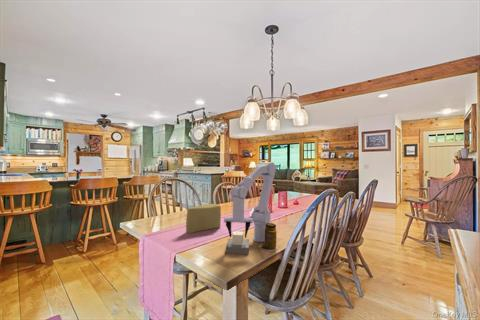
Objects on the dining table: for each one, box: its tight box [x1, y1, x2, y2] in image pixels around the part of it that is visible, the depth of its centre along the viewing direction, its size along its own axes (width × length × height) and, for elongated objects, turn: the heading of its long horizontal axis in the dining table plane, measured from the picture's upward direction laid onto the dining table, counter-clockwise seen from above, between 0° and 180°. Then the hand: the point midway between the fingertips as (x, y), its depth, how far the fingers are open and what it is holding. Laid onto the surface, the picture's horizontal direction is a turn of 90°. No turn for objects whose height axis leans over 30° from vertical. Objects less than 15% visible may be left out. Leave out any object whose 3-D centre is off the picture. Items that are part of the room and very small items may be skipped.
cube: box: [232, 230, 244, 245], centre depth 112 cm, size 5×5×5 cm
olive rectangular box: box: [185, 203, 222, 234], centre depth 141 cm, size 22×10×15 cm, turn 130°
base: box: [225, 238, 250, 255], centre depth 112 cm, size 11×11×3 cm
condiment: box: [258, 222, 280, 253], centre depth 114 cm, size 7×8×12 cm
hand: (238, 236), depth 112 cm, fingers open, 7 cm apart
